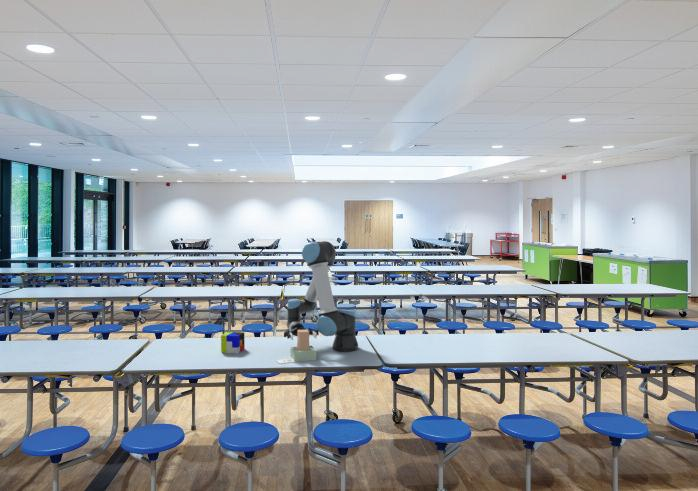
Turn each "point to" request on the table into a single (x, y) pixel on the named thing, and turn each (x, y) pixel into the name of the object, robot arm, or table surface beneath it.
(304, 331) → the brick
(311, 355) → the base block
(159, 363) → the table surface
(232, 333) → the puzzle toy
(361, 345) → the table surface
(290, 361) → the page
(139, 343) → the table surface
